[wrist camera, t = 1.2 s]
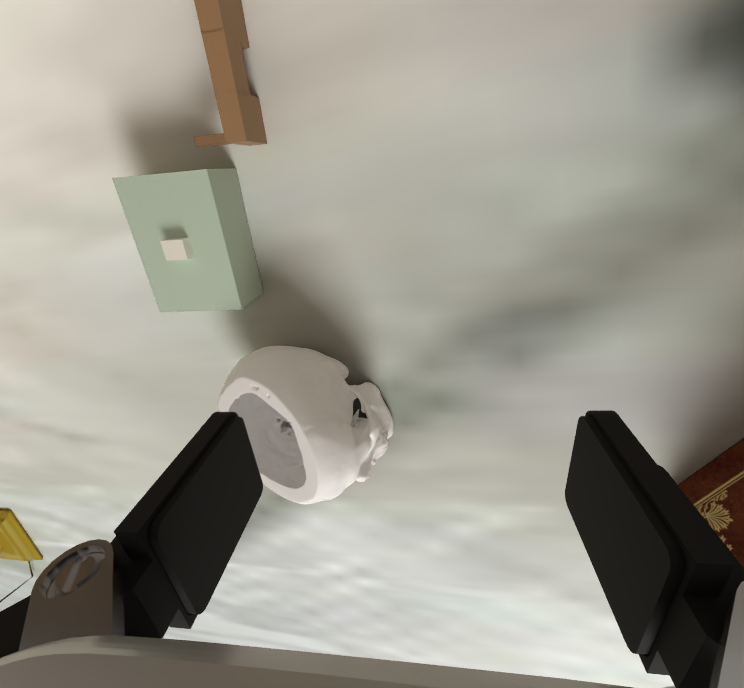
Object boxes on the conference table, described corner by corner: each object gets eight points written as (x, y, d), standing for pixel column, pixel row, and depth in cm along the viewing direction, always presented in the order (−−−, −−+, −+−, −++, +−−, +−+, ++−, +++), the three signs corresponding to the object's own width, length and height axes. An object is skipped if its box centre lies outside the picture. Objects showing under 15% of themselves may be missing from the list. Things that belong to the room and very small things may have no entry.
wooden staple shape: (187, 0, 33) (151, -25, 29) (239, -9, 33) (210, -36, 28) (221, 148, 39) (195, 146, 34) (267, 143, 38) (246, 140, 33)
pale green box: (152, 176, 41) (102, 178, 34) (235, 168, 39) (199, 169, 33) (190, 295, 47) (153, 316, 40) (263, 292, 45) (236, 313, 39)
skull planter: (370, 475, 54) (283, 553, 38) (292, 374, 59) (185, 404, 43) (432, 421, 49) (362, 485, 32) (341, 315, 54) (238, 323, 37)
